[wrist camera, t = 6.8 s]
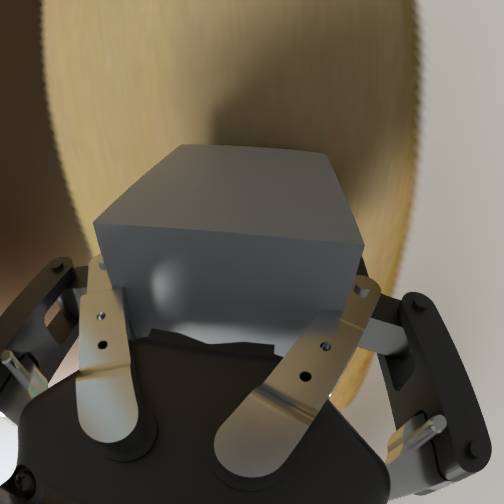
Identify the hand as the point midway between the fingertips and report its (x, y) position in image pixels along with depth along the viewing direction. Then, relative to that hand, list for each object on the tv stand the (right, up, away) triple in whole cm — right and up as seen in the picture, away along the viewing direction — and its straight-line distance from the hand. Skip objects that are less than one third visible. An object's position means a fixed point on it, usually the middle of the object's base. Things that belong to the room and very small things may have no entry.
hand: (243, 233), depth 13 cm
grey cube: (0, +1, +2) cm, 2 cm away
